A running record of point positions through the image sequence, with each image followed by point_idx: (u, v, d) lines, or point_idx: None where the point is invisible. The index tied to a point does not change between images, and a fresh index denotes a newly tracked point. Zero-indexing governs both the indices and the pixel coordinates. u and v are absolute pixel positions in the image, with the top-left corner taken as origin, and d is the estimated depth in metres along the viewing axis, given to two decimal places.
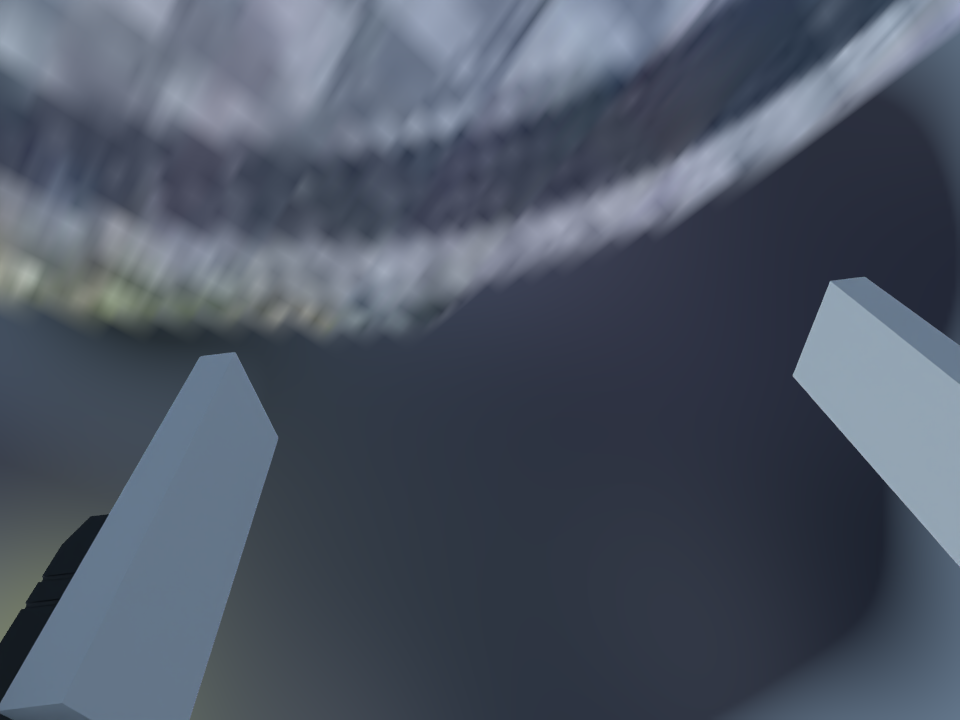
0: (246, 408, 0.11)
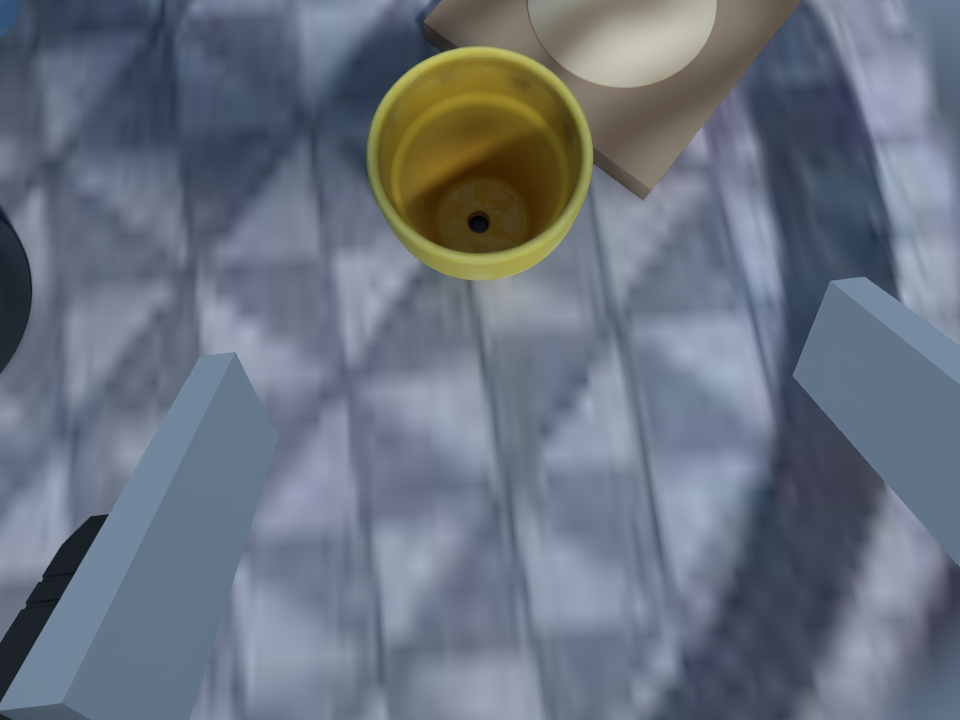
0: (246, 408, 0.11)
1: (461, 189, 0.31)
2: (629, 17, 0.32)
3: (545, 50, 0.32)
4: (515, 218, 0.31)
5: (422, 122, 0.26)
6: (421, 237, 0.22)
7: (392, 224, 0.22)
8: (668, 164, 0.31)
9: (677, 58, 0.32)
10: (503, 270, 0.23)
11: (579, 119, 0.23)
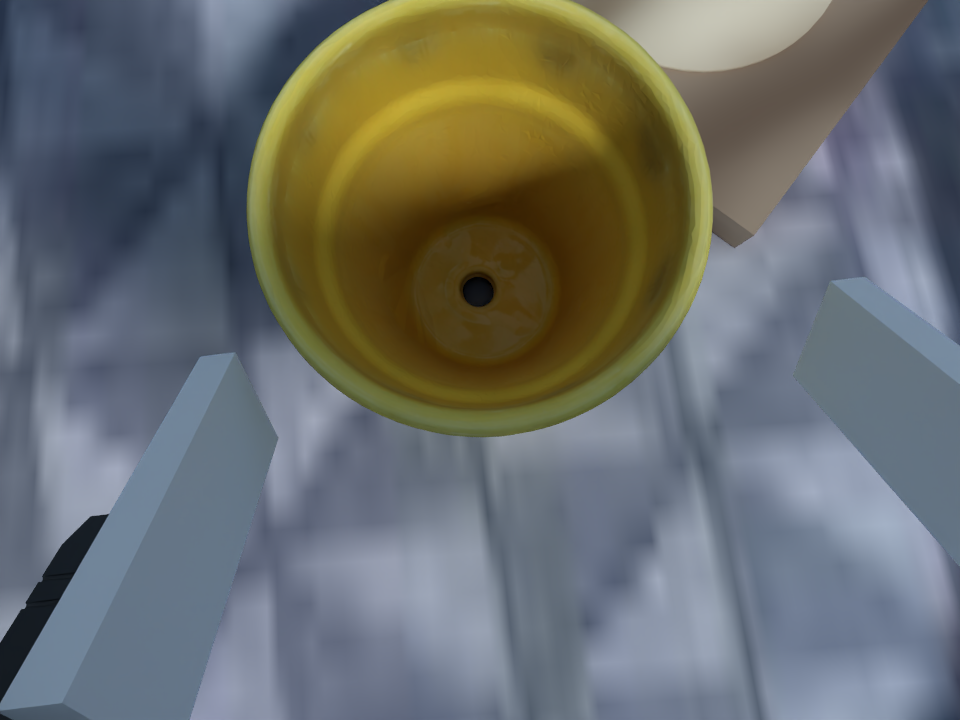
0: (246, 408, 0.11)
1: (449, 236, 0.20)
2: None
3: None
4: (536, 282, 0.20)
5: (373, 134, 0.14)
6: (359, 379, 0.11)
7: (299, 352, 0.11)
8: (780, 193, 0.19)
9: (789, 24, 0.20)
10: None
11: (683, 127, 0.11)
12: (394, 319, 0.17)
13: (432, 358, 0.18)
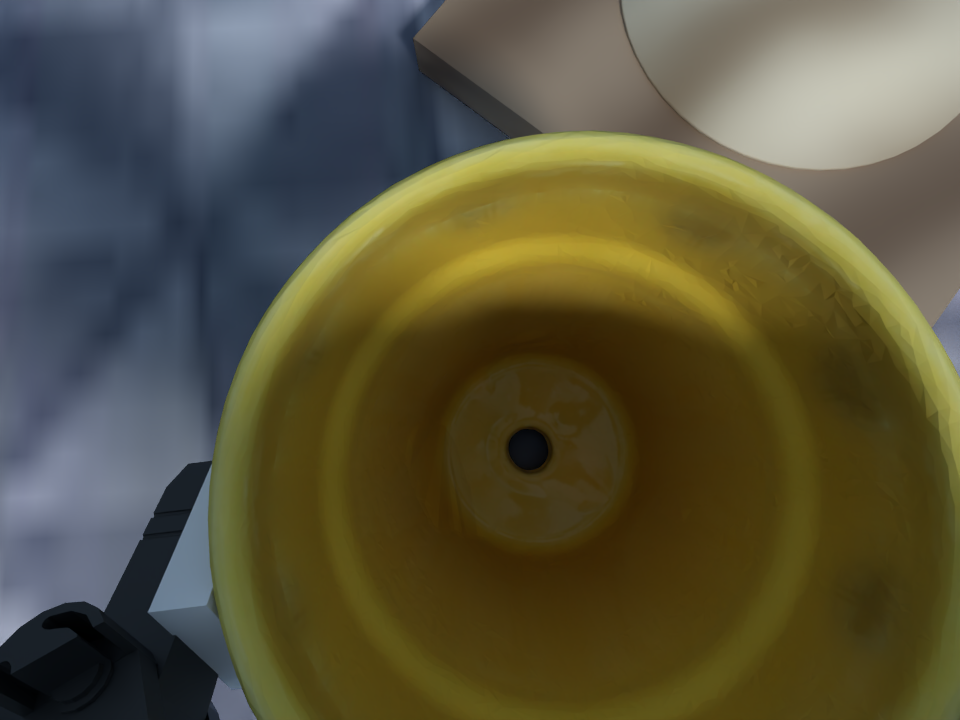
0: None
1: (492, 378, 0.15)
2: (827, 27, 0.16)
3: (658, 95, 0.16)
4: (605, 441, 0.15)
5: (407, 313, 0.10)
6: None
7: None
8: None
9: (930, 109, 0.15)
10: None
11: (939, 386, 0.07)
12: (425, 515, 0.13)
13: (475, 565, 0.13)
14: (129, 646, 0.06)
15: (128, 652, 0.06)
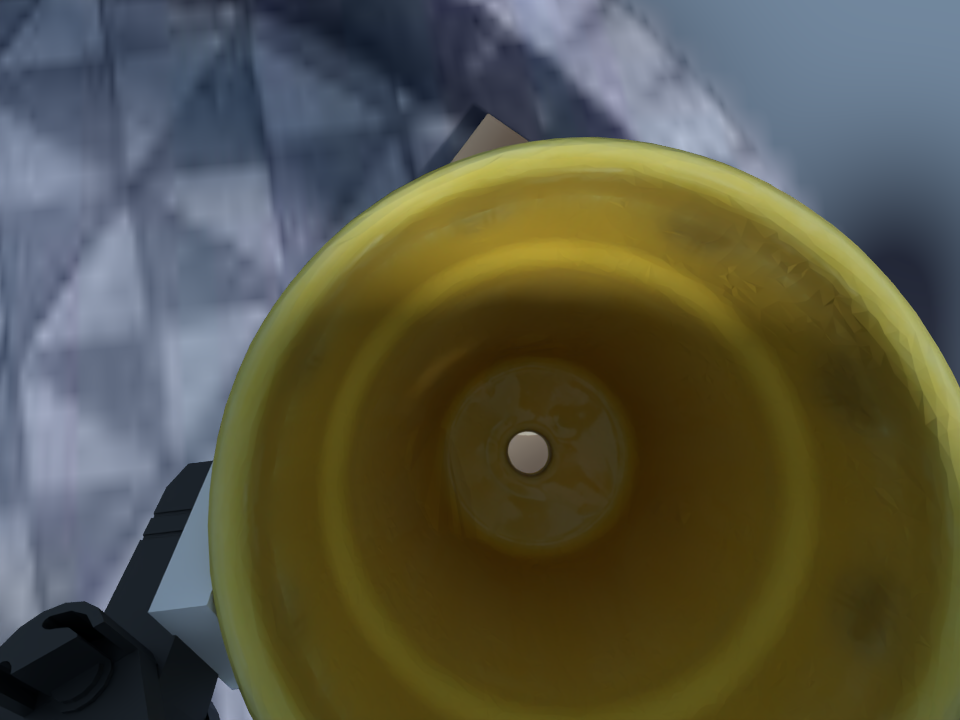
0: None
1: (492, 381, 0.15)
2: None
3: None
4: (604, 444, 0.15)
5: (407, 317, 0.10)
6: None
7: None
8: None
9: None
10: None
11: (938, 393, 0.07)
12: (425, 518, 0.13)
13: (475, 568, 0.13)
14: (129, 646, 0.06)
15: (128, 652, 0.06)
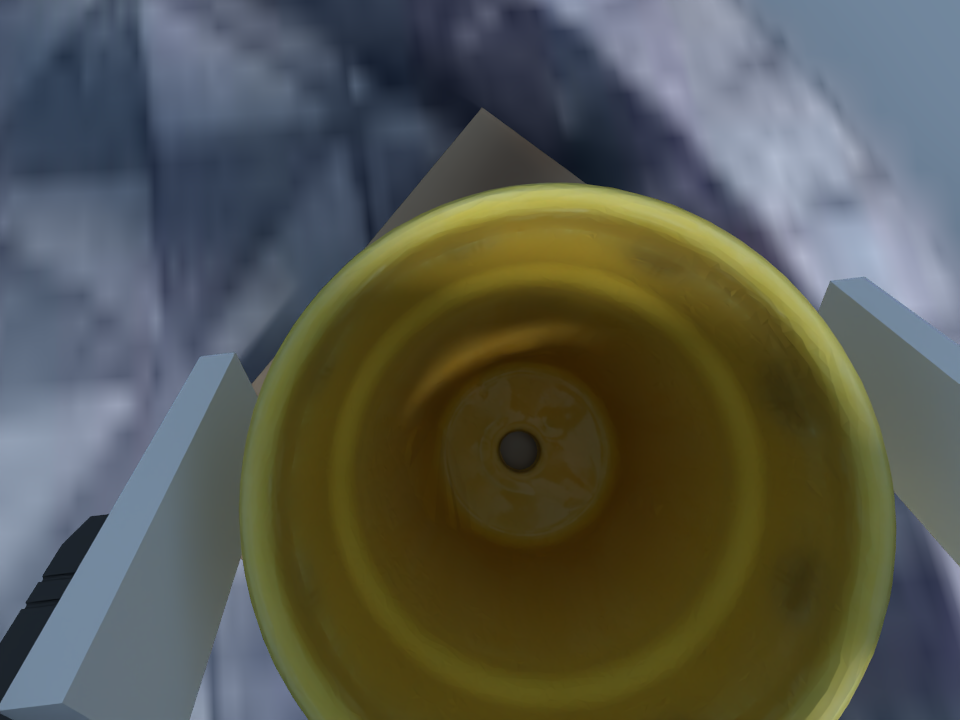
0: (246, 408, 0.11)
1: (485, 384, 0.17)
2: None
3: None
4: (589, 443, 0.16)
5: (406, 331, 0.11)
6: None
7: None
8: None
9: None
10: None
11: (850, 400, 0.08)
12: (423, 510, 0.14)
13: (468, 556, 0.14)
14: None
15: None
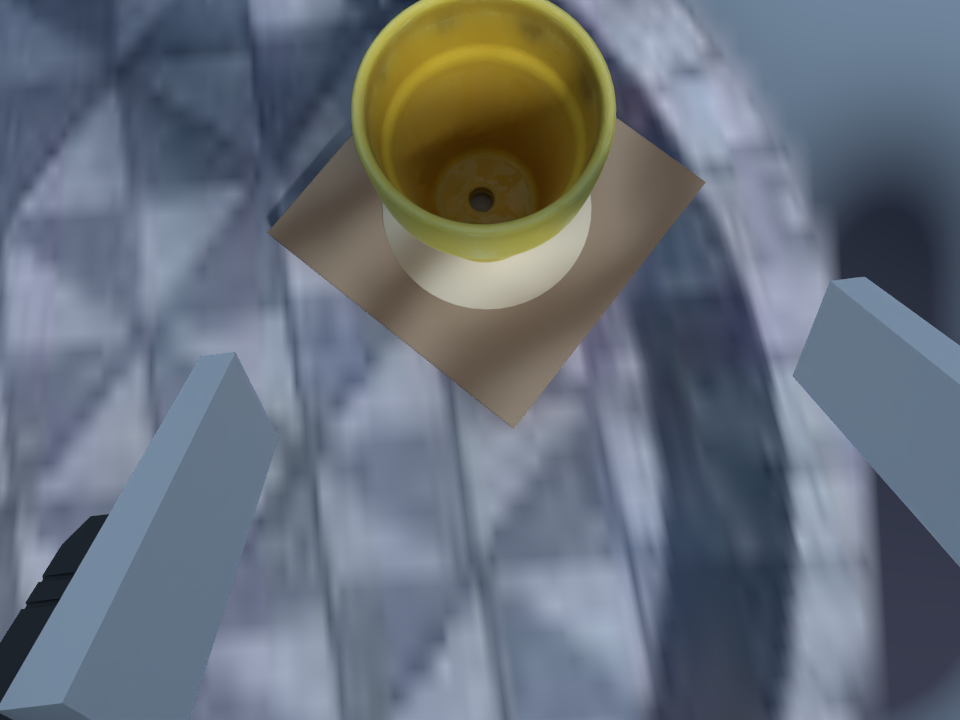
0: (246, 408, 0.11)
1: (461, 163, 0.28)
2: None
3: (401, 266, 0.29)
4: (522, 195, 0.28)
5: (417, 79, 0.22)
6: (415, 205, 0.19)
7: (381, 190, 0.19)
8: (533, 398, 0.28)
9: (546, 276, 0.28)
10: (510, 246, 0.20)
11: (600, 68, 0.19)
12: None
13: None
14: None
15: None
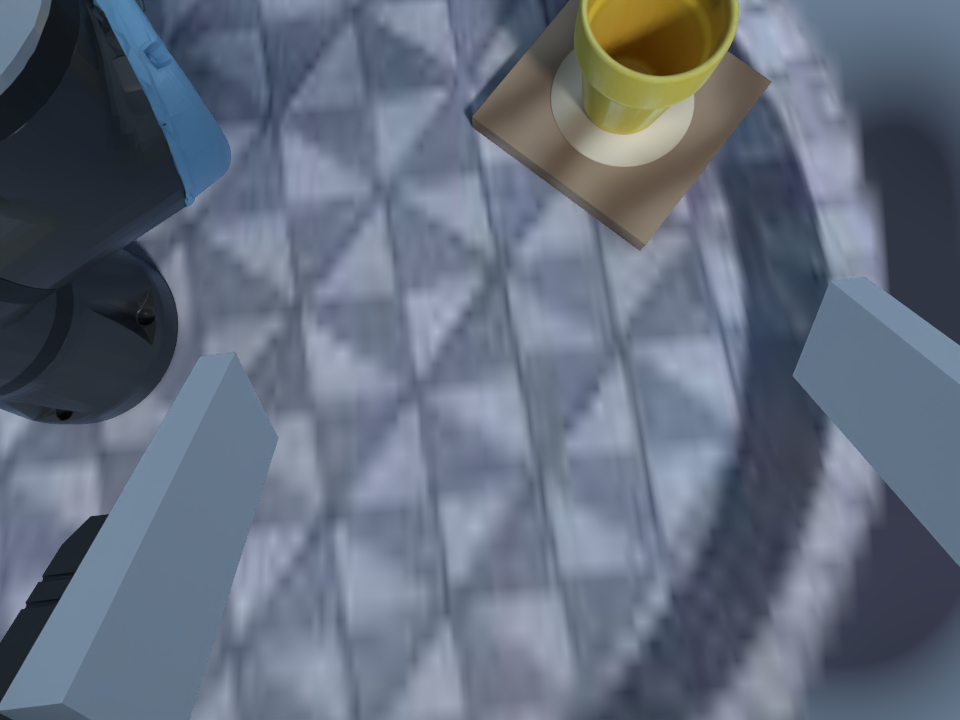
0: (246, 408, 0.11)
1: None
2: None
3: (564, 138, 0.42)
4: None
5: None
6: (621, 65, 0.32)
7: (601, 57, 0.32)
8: (658, 225, 0.41)
9: (664, 144, 0.42)
10: (672, 94, 0.33)
11: None
12: None
13: None
14: None
15: None
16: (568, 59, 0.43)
